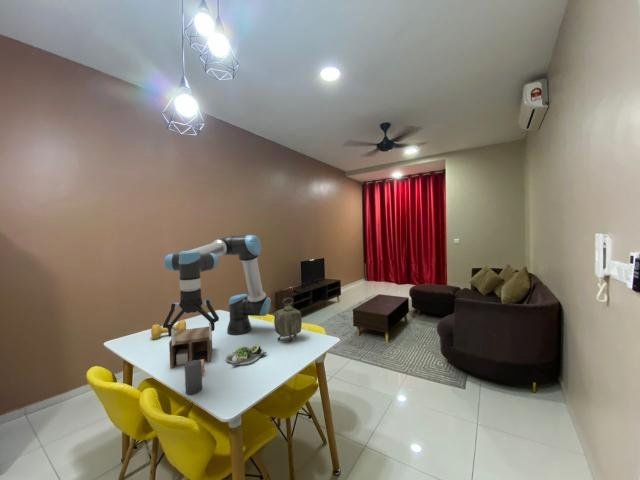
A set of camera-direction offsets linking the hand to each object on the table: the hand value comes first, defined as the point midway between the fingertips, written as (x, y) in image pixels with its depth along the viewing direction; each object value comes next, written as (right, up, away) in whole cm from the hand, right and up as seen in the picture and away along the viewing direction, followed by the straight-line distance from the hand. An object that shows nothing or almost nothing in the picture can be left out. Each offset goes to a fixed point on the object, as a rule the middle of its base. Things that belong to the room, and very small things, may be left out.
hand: (192, 341), depth 104 cm
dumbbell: (-44, -20, +59) cm, 76 cm away
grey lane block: (-17, -20, +25) cm, 36 cm away
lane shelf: (-14, -20, +28) cm, 37 cm away
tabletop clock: (+33, -18, +48) cm, 61 cm away
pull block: (-2, -20, +7) cm, 21 cm away
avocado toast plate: (+14, -20, +28) cm, 37 cm away
